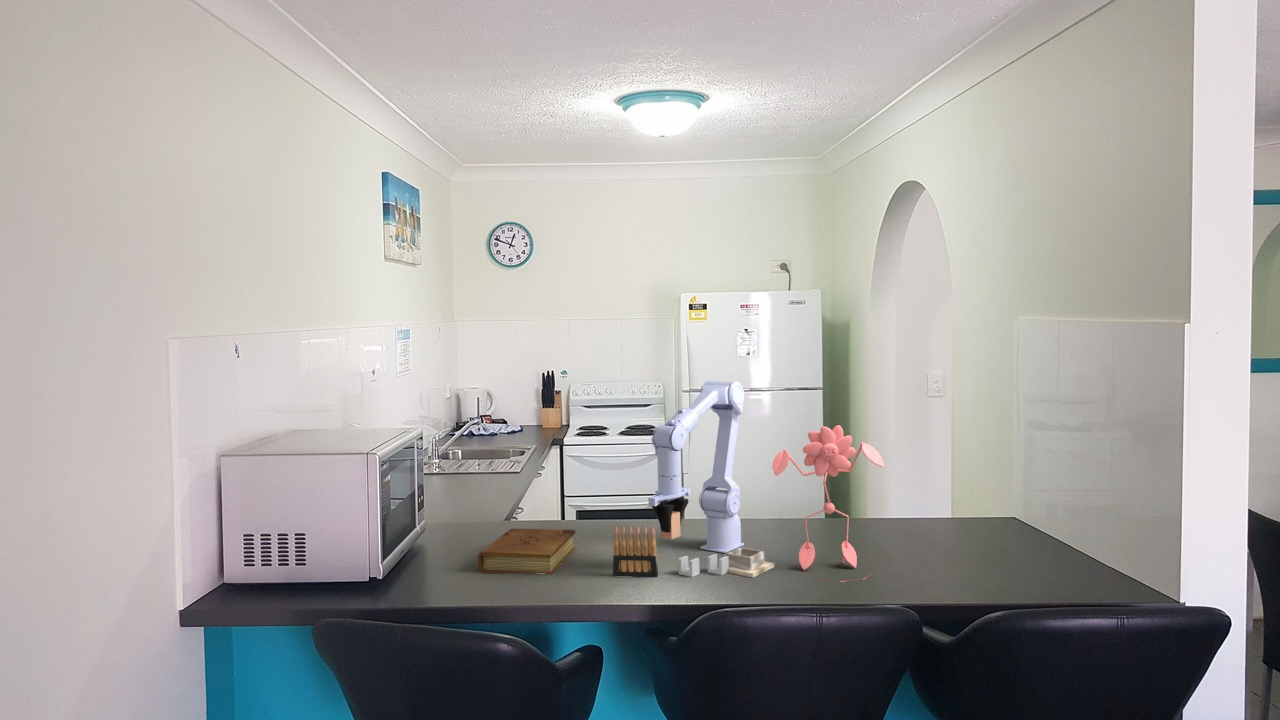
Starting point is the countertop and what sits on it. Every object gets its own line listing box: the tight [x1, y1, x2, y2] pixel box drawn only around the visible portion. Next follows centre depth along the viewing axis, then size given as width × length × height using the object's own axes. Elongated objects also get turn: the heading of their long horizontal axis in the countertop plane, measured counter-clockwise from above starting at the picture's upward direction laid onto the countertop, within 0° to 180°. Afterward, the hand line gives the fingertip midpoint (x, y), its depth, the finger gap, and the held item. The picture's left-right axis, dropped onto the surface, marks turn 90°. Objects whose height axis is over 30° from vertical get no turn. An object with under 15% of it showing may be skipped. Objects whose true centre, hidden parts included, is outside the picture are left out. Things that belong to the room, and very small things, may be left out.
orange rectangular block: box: [659, 511, 681, 540], centre depth 209 cm, size 4×4×6 cm
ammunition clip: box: [612, 525, 659, 578], centre depth 204 cm, size 11×2×12 cm, turn 82°
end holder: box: [717, 546, 775, 578], centre depth 207 cm, size 10×10×4 cm
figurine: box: [772, 425, 885, 583], centre depth 202 cm, size 15×26×35 cm, turn 90°
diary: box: [477, 528, 576, 575], centre depth 219 cm, size 23×19×6 cm
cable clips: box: [677, 553, 729, 578], centre depth 205 cm, size 8×9×4 cm
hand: (670, 529), depth 209 cm, fingers closed on orange rectangular block, 3 cm apart
